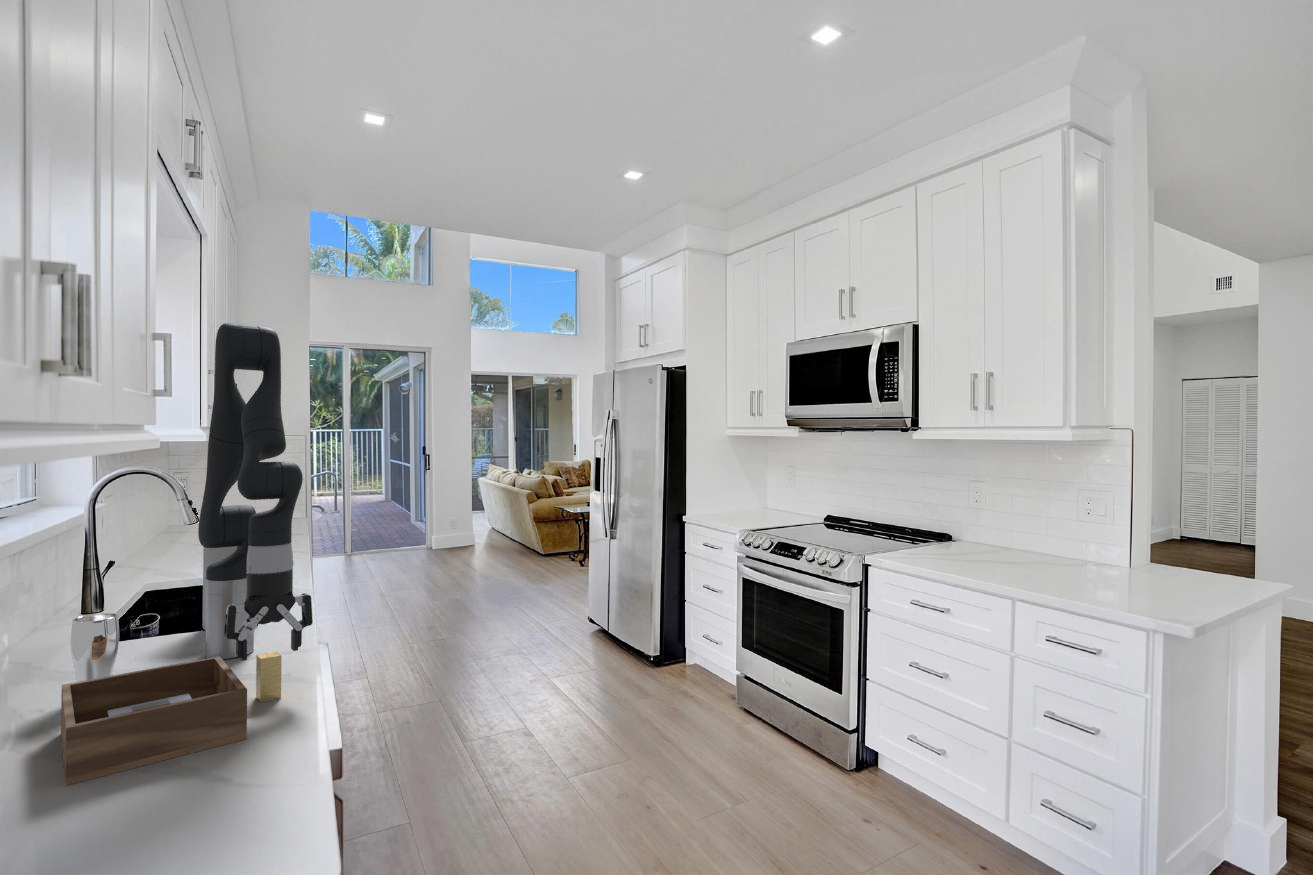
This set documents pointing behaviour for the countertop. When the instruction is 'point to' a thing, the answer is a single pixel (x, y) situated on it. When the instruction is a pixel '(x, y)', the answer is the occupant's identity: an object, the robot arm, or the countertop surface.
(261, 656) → the tan wooden block
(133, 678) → the walled box
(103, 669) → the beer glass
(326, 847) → the countertop surface
